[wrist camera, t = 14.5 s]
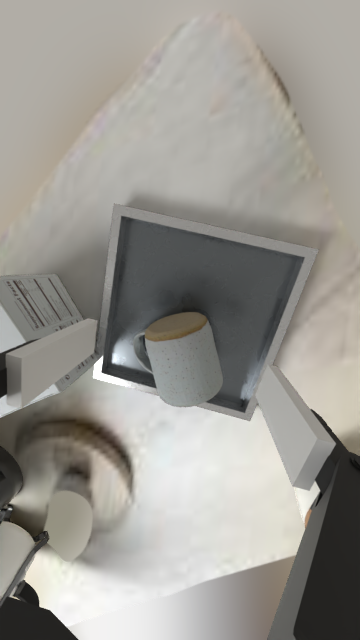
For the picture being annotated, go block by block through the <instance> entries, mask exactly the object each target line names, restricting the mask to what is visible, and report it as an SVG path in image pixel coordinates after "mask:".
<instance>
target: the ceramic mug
mask: <svg viewBox="0 0 360 640" xmlns="http://www.w3.org/2000/svg"><path fill="white" fill-rule="evenodd" d="M143 335H145V345H146V349H147V353H148V356H149V358H148V357H147V355H146V353H145V350H144V345H143V339H142V337H143ZM133 349H134V353H135V356H136V358H137V360H138V361H139V363H140V364H141V365H142V366H143V367H144V368H145V369H146V370H147V371H149V372H150V373H152V374H153V375H154V379H155V383H156V387H157V391H158V394H159V396H160V398H161V399H162V400H163V401H164V402H165V403H167V404H169V405H172V406H176V407H191V406H196V405H199V404H202V403H204V402H206V401H208V400H210V399H211V398H213V397H214V396H215V395H216V394H217V393H218V392H219V391H220V389H221V387H222V384H223V376H222V372H221V367H220V363H219V359H218V354H217V350H216V346H215V342H214V337H213V333H212V329H211V326H210V324H209V321H208V319H207V318H206V316H204V315H202V314H200V313H197V312H185V313H179V314H174V315H170V316H167V317H164V318H162V319H159V320H157V321H155V322H154V323H152V324H151V325H150V326H149V327H148V328H147V329H145V330H143V331H141V332H139V333H138V334H137V335H136V336H135V338H134V340H133Z"/></svg>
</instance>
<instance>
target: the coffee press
mask: <svg viewBox="0 0 360 640" xmlns="http://www.w3.org/2000/svg"><path fill="white" fill-rule="evenodd" d="M12 510H13V507H12V506H5V507H3V508H2V509H1V511H0V607H1V605H2V604H3V602H4V600H5V599H6V597H7V596H8V597H11V598H12V596H14V597H17V598H18V599H20V600H21V601H23V602H26V603H29V604H32V605H35V606H38V607H39V598H38V595H37V593H36V591H35V590H34V589H33V588H32V587H31V586H30V585H29V584H28V583H26V582H25V580H24V578H25V575H26V572H27V570H28V569H29V567H30V565H31V563H32V562H33V560H34V557H35V553H36V552H37V551H38V550H39V549H40V548H41V547H42V546H44V545H45V544H46V543H47V542H48V540H49V535H48V532H47V531H44V532H42V533H41V534H39V535H38V536H36V537H31V536H30V534H29V533H28V532H27V531H25V530H24V529H23V528H21V527H20V526H18V525H16V524H13V523H10V516H11V513H12ZM44 537H45V538H44ZM42 538H44V539H43V540H42V541H41V542H39V543H38V544H37V545H36V546H35V543H34V542H38V541H39V540H41V539H42Z"/></svg>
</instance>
